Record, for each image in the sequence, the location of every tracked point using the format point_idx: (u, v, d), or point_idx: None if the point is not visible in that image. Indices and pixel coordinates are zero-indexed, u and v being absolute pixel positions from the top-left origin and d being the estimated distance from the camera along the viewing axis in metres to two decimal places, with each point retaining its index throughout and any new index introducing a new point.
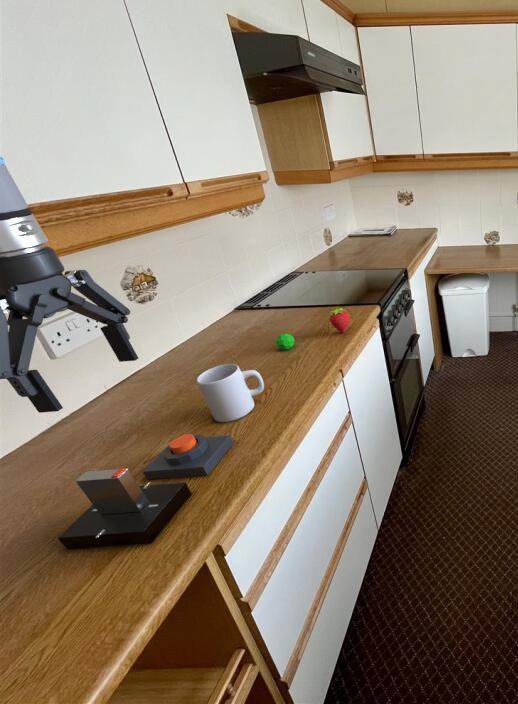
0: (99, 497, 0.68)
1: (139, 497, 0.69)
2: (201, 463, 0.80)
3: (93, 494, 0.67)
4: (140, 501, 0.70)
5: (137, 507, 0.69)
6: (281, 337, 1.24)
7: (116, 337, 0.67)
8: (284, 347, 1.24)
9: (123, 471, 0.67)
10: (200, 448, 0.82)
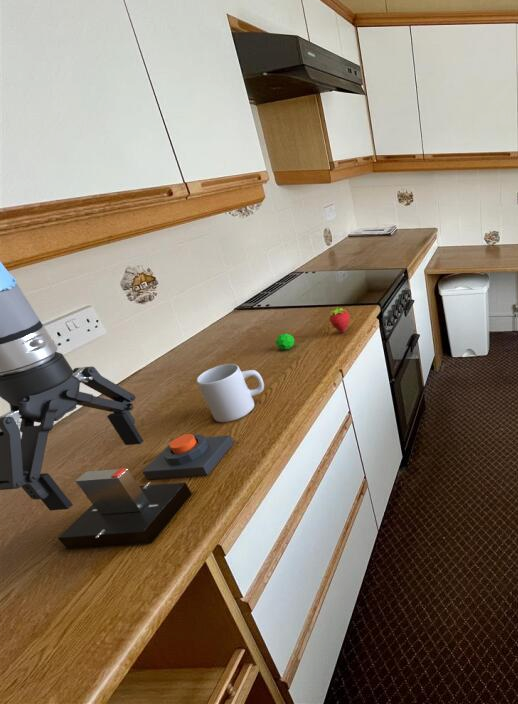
0: (99, 497, 0.68)
1: (139, 497, 0.69)
2: (201, 463, 0.80)
3: (93, 494, 0.67)
4: (140, 501, 0.70)
5: (137, 507, 0.69)
6: (281, 337, 1.24)
7: (122, 424, 0.70)
8: (284, 347, 1.24)
9: (123, 471, 0.67)
10: (200, 448, 0.82)
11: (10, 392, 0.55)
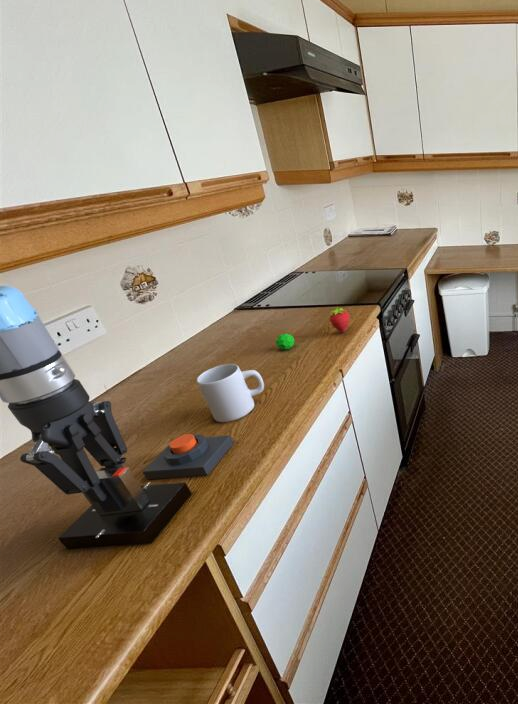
0: None
1: (140, 496, 0.70)
2: (201, 463, 0.80)
3: None
4: (141, 500, 0.70)
5: (138, 506, 0.69)
6: (281, 337, 1.24)
7: None
8: (284, 347, 1.24)
9: (124, 470, 0.67)
10: (200, 448, 0.82)
11: (33, 419, 0.57)
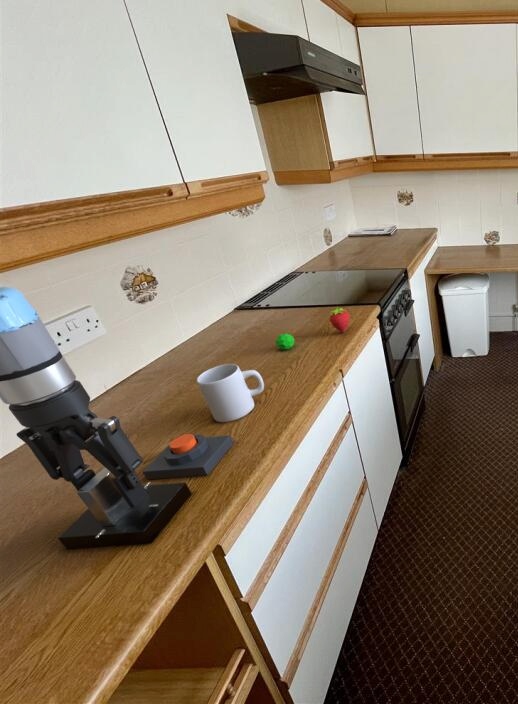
0: (111, 499, 0.67)
1: None
2: (201, 463, 0.80)
3: (106, 498, 0.66)
4: None
5: (143, 487, 0.73)
6: (281, 337, 1.24)
7: None
8: (284, 347, 1.24)
9: None
10: (200, 448, 0.82)
11: (81, 401, 0.61)
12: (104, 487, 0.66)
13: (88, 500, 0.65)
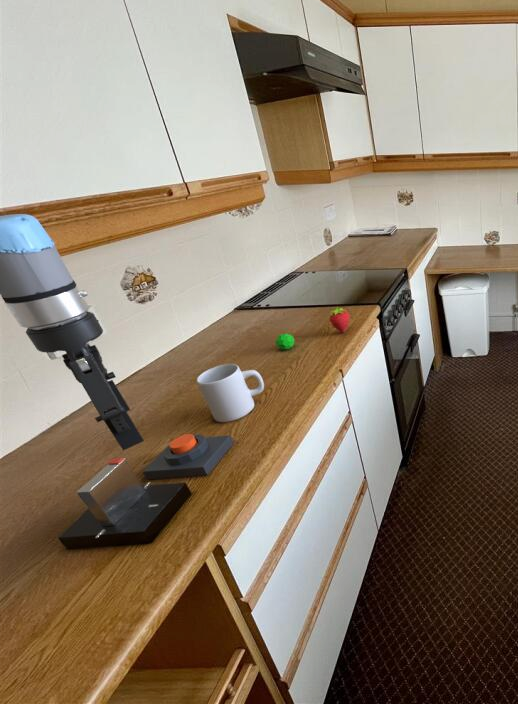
0: (111, 499, 0.67)
1: None
2: (201, 463, 0.80)
3: (106, 498, 0.66)
4: None
5: (143, 487, 0.73)
6: (281, 337, 1.24)
7: None
8: (284, 347, 1.24)
9: (116, 459, 0.70)
10: (200, 448, 0.82)
11: (74, 339, 0.61)
12: (104, 487, 0.66)
13: (88, 500, 0.65)
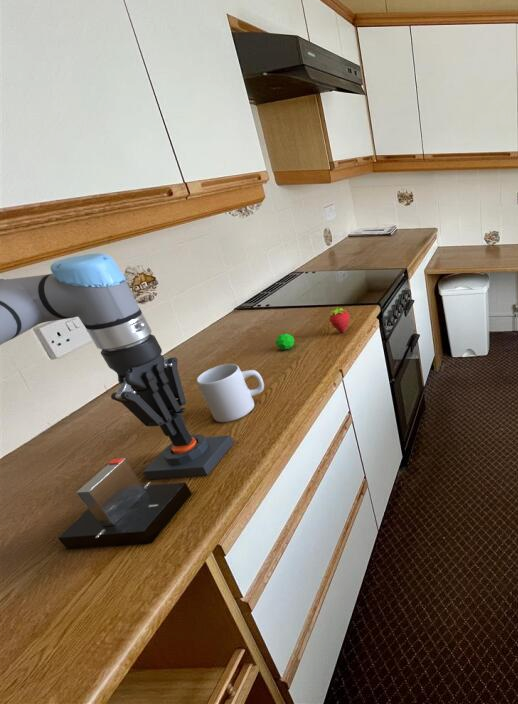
0: (111, 499, 0.67)
1: None
2: (201, 463, 0.80)
3: (106, 498, 0.66)
4: None
5: (143, 487, 0.73)
6: (281, 337, 1.24)
7: None
8: (284, 347, 1.24)
9: (116, 459, 0.70)
10: (200, 448, 0.82)
11: (119, 364, 0.70)
12: (104, 487, 0.66)
13: (88, 500, 0.65)
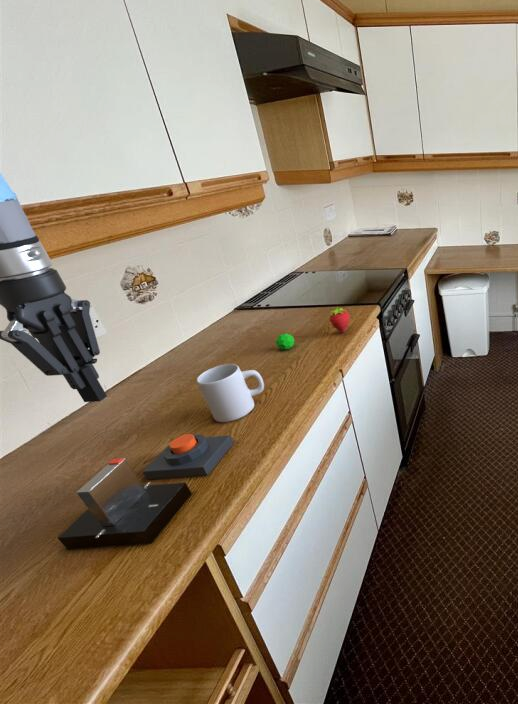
0: (111, 499, 0.67)
1: None
2: (201, 463, 0.80)
3: (106, 498, 0.66)
4: None
5: (143, 487, 0.73)
6: (281, 337, 1.24)
7: None
8: (284, 347, 1.24)
9: (116, 459, 0.70)
10: (200, 448, 0.82)
11: (7, 297, 0.60)
12: (104, 487, 0.66)
13: (88, 500, 0.65)
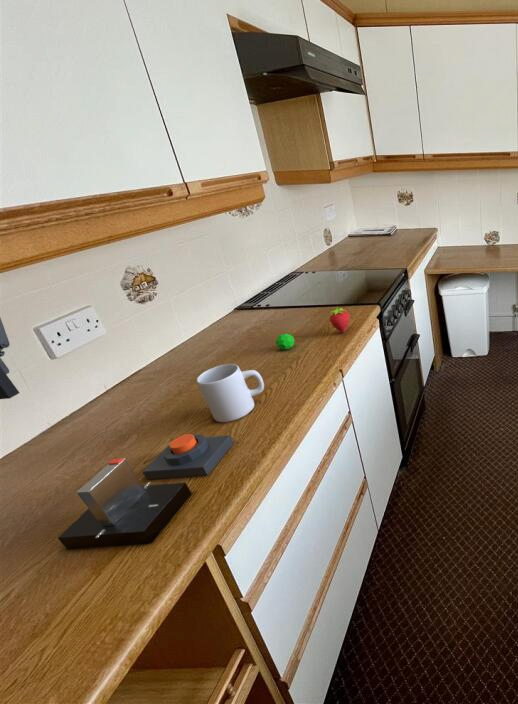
0: (111, 499, 0.67)
1: None
2: (201, 463, 0.80)
3: (106, 498, 0.66)
4: None
5: (143, 487, 0.73)
6: (281, 337, 1.24)
7: None
8: (284, 347, 1.24)
9: (116, 459, 0.70)
10: (200, 448, 0.82)
11: None
12: (104, 487, 0.66)
13: (88, 500, 0.65)
